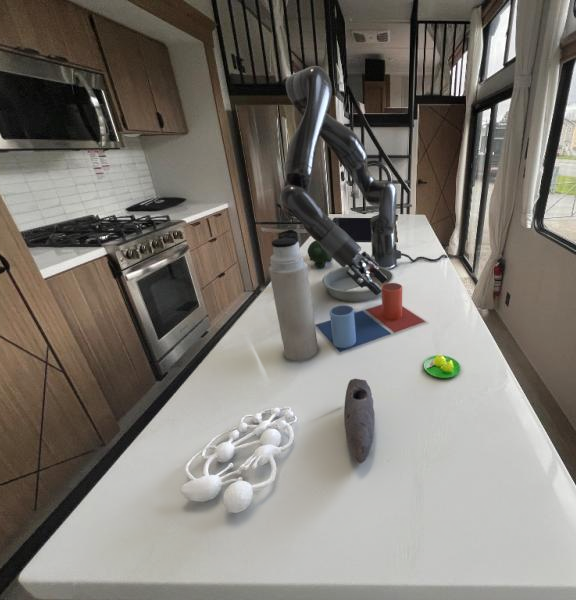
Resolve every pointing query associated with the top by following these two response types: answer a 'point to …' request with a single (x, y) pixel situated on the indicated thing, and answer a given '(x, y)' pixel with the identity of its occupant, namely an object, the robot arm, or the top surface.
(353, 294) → the cake pan
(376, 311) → the red mat
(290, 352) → the thermos bottle
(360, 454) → the perforated stone tool
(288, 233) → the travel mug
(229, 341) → the top surface
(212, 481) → the tangled rod sculpture
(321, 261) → the toy figurine
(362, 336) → the blue mat
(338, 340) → the blue tumbler
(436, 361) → the green plate with lumps
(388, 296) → the red tumbler
